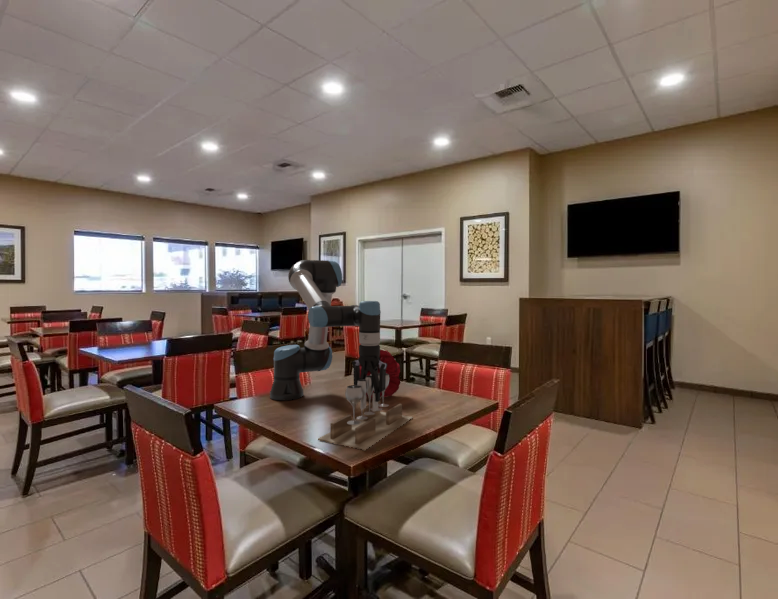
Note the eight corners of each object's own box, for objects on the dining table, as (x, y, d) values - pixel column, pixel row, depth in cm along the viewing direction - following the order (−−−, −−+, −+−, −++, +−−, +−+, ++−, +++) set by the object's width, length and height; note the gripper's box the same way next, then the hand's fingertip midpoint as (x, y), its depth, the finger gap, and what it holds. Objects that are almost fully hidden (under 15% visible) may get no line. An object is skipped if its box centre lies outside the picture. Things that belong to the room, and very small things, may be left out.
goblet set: (378, 403, 159) (379, 369, 159) (392, 404, 157) (392, 370, 157) (342, 424, 134) (342, 383, 133) (357, 426, 131) (357, 385, 131)
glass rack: (317, 440, 133) (317, 423, 133) (372, 411, 165) (372, 398, 165) (364, 450, 125) (365, 432, 125) (412, 418, 157) (412, 404, 157)
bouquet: (352, 405, 199) (350, 387, 172) (357, 359, 210) (355, 336, 184) (396, 408, 199) (401, 391, 173) (398, 362, 210) (403, 340, 184)
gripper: (343, 343, 145) (343, 408, 146) (386, 347, 137) (385, 415, 138) (354, 341, 152) (354, 403, 152) (396, 344, 144) (395, 410, 144)
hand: (369, 409), depth 145 cm, fingers closed on goblet set, 4 cm apart
